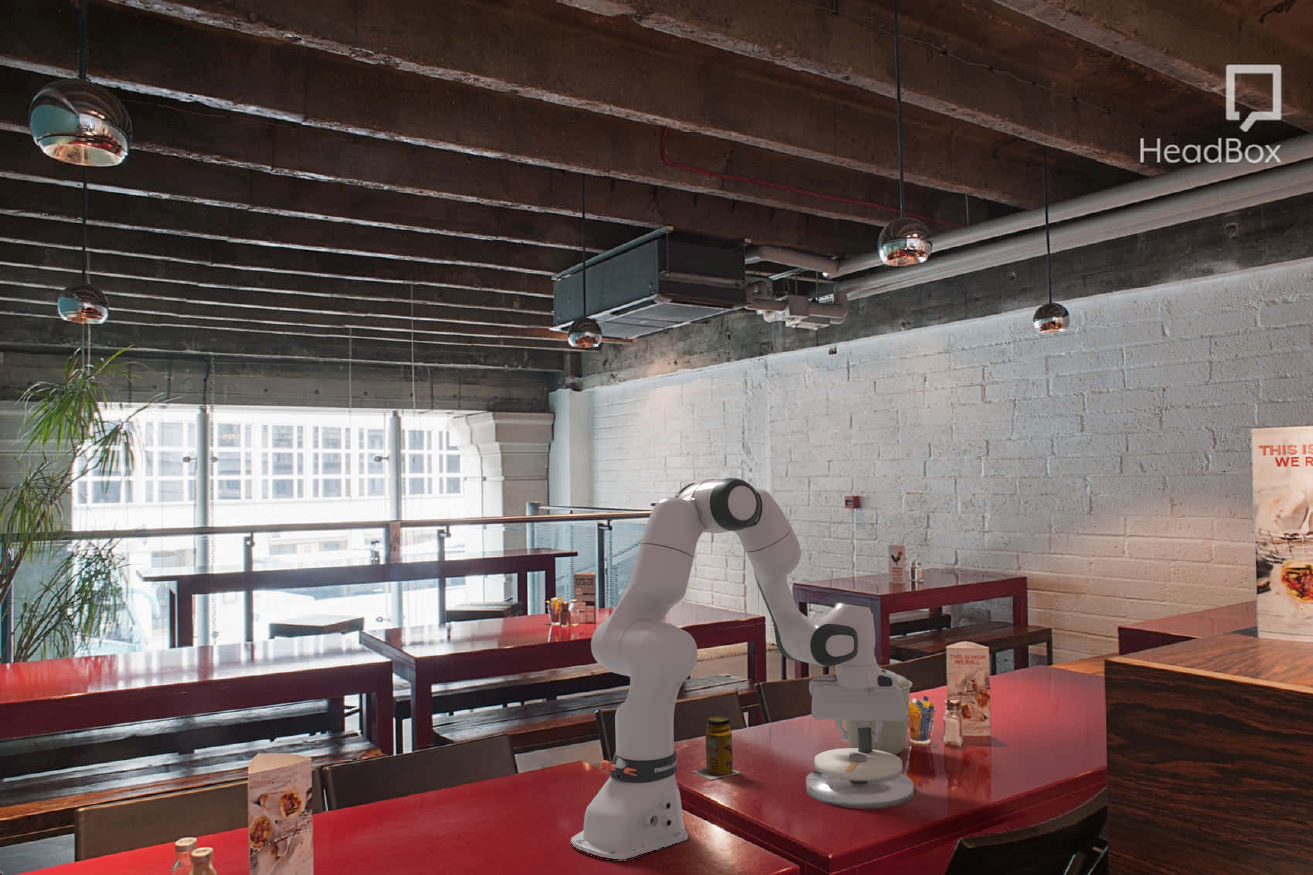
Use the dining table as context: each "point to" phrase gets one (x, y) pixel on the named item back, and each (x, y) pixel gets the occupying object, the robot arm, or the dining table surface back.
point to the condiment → (718, 749)
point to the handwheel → (859, 761)
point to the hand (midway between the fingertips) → (859, 740)
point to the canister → (884, 727)
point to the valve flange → (860, 791)
